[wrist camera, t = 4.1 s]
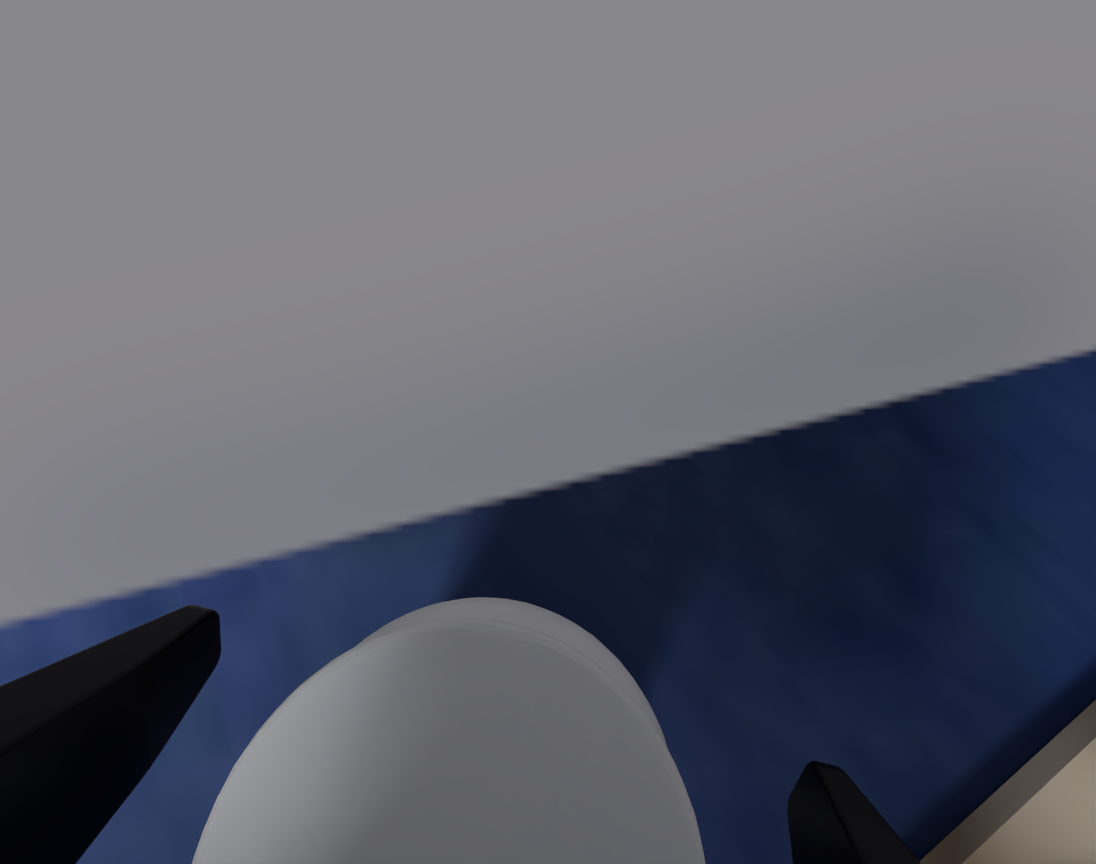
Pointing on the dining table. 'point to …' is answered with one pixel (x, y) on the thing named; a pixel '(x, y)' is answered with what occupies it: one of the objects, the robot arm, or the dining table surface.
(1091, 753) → the collar board
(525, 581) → the dining table surface
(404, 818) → the pill bottle
